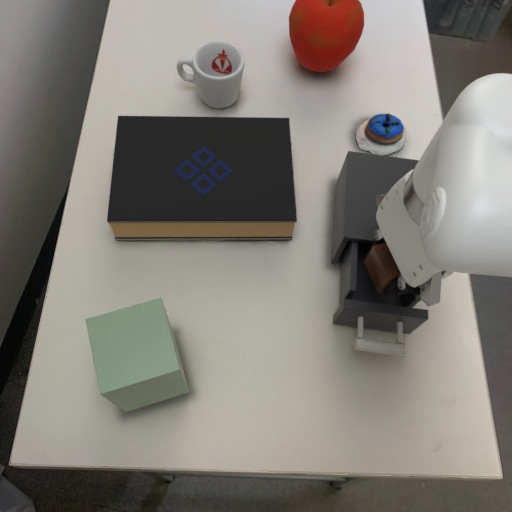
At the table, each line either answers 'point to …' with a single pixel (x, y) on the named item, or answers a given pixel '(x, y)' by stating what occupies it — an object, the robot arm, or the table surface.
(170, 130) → the book
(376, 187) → the cabinet
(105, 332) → the block
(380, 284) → the block
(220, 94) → the cup
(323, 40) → the apple
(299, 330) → the table surface
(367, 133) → the dessert
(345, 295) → the drawer
